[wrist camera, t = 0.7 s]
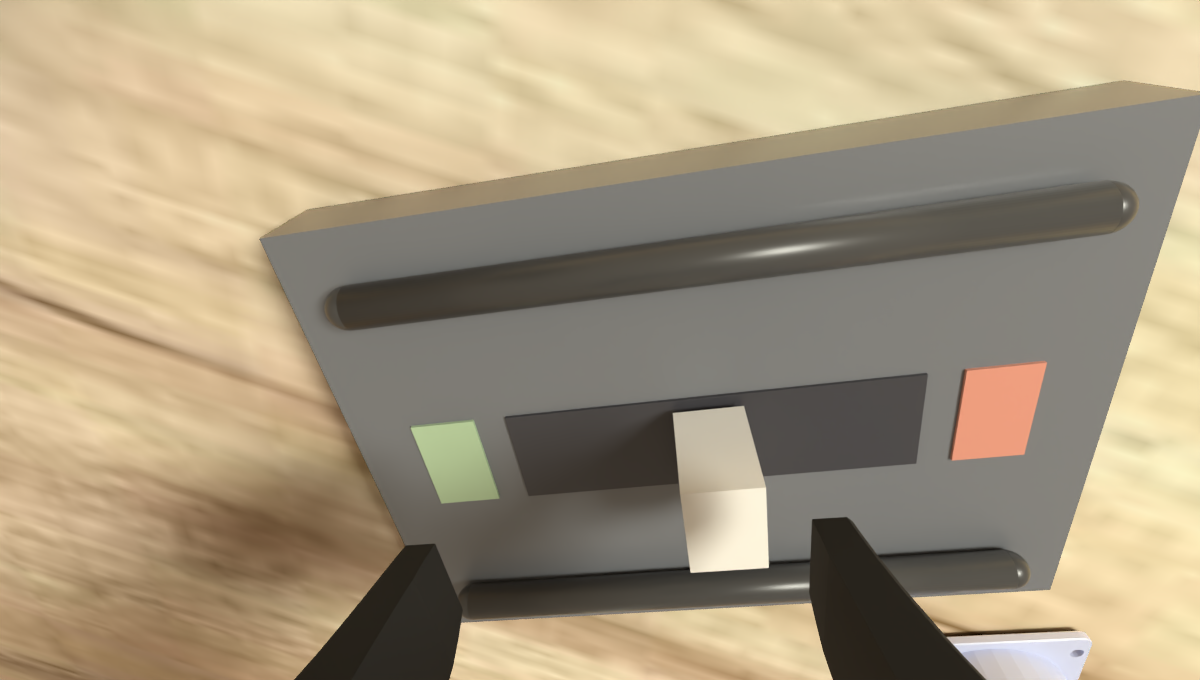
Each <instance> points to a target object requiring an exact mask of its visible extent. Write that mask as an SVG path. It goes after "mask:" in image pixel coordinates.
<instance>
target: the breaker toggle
mask: <svg viewBox="0 0 1200 680" xmlns="http://www.w3.org/2000/svg"><path fill="white" fill-rule="evenodd" d="M673 421H674V432H675V443H676V454H677V465H678V476H679V487H680V497H681V505H682V512H683V520H684V527H685V535H686V542H687V550H688V557H689V564H690V572H691V573H697V572H712V571H728V570H744V569H759V568H769V557H768V528H767V500H766V485H765V482H764V478H763V474H762V471H761V467H760V463H759V460H758V456H757V452H756V449H755V445H754V441H753V438H752V434H751V430H750V426H749V423H748V419H747V415H746V412H745V408H744V406H738V407H728V408H718V409H708V410H698V411H688V412H678V413H673Z"/></svg>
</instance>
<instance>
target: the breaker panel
mask: <svg viewBox="0 0 1200 680" xmlns="http://www.w3.org/2000/svg"><path fill="white" fill-rule="evenodd" d="M1199 129H1200V91H1193V90H1186V89H1179V88H1172V87H1166V86H1159V85H1152V84H1145V83H1138V82H1131V81H1118V82H1111V83H1105V84H1099V85H1092V86H1086V87H1080V88H1073V89H1067V90H1061V91H1054V92H1048V93H1042V94H1035V95H1029V96H1023V97H1016V98H1010V99H1004V100H997V101H991V102H985V103H979V104H972V105H966V106H960V107H953V108H947V109H941V110H934V111H928V112H922V113H915V114H909V115H903V116H896V117H890V118H884V119H877V120H871V121H865V122H858V123H852V124H846V125H839V126H833V127H827V128H821V129H814V130H808V131H802V132H795V133H789V134H783V135H776V136H770V137H764V138H757V139H751V140H745V141H738V142H732V143H726V144H719V145H713V146H707V147H700V148H694V149H688V150H681V151H675V152H669V153H662V154H656V155H650V156H644V157H637V158H631V159H625V160H618V161H612V162H606V163H599V164H593V165H587V166H580V167H574V168H568V169H561V170H555V171H549V172H542V173H536V174H530V175H523V176H517V177H511V178H504V179H498V180H492V181H486V182H479V183H473V184H467V185H460V186H454V187H448V188H441V189H435V190H429V191H422V192H416V193H410V194H403V195H397V196H391V197H384V198H378V199H372V200H365V201H359V202H353V203H346V204H340V205H334V206H327V207H321V208H315V209H309V210H306V211H304V212H302V213H301V214H299V215H298V216H296V217H294V218H293V219H291V220H289V221H288V222H286V223H284V224H283V225H281V226H279V227H278V228H276V229H274V230H273V231H271V232H269V233H268V234H266V235H265V236H263V237H261V238H260V241H261V243H262V246H263V248H264V250H265V252H266V254H267V256H268V258H269V260H270V262H271V264H272V267H273V269H274V271H275V273H276V275H277V277H278V279H279V281H280V283H281V285H282V288H283V290H284V292H285V294H286V296H287V298H288V300H289V302H290V304H291V306H292V309H293V311H294V313H295V315H296V317H297V319H298V321H299V323H300V325H301V328H302V330H303V332H304V334H305V336H306V338H307V340H308V342H309V344H310V346H311V349H312V351H313V353H314V355H315V357H316V359H317V361H318V363H319V365H320V367H321V370H322V372H323V374H324V376H325V378H326V380H327V382H328V384H329V386H330V388H331V391H332V393H333V395H334V397H335V399H336V401H337V403H338V405H339V407H340V410H341V412H342V414H343V416H344V418H345V420H346V422H347V424H348V426H349V428H350V431H351V433H352V435H353V437H354V439H355V441H356V443H357V445H358V447H359V449H360V452H361V454H362V456H363V458H364V460H365V462H366V464H367V466H368V468H369V470H370V473H371V475H372V477H373V479H374V481H375V483H376V485H377V487H378V489H379V492H380V494H381V496H382V498H383V500H384V502H385V504H386V506H387V508H388V510H389V513H390V515H391V517H392V519H393V521H394V523H395V525H396V527H397V529H398V531H399V534H400V536H401V538H402V540H403V542H404V544H405V546H406V545H420V544H436V547H437V549H438V551H439V554H440V556H441V559H442V561H443V563H444V566H445V568H446V571H447V573H448V575H449V578H450V580H451V582H452V585H453V587H454V590H455V592H456V594H457V597H458V599H459V602H460V604H461V606H462V609H463V612H462V619H461V623H462V622H480V621H498V620H516V619H534V618H552V617H570V616H587V615H605V614H623V613H641V612H659V611H677V610H695V609H713V608H731V607H749V606H767V605H785V604H803V603H811V598H810V594H809V582H810V556H811V530H812V519H822V518H838V517H848V518H849V519H850V520H852V521H853V523H854V524H855V525H856V527H857V528H858V530H859V531H860V532H861V534H862V535H863V536H864V538H865V539H866V540H867V542H868V543H869V544H870V546H871V547H872V548H873V550H874V551H875V552H876V554H877V555H878V556H879V558H880V559H881V560H882V561H883V563H884V564H885V565H886V566H887V568H888V569H889V570H890V571H891V573H892V574H893V575H894V576H895V578H896V579H897V580H898V581H899V583H900V584H901V585H902V586H903V587H904V589H905V590H906V591H907V592H908V593H909V595H910V596H911V597H928V596H946V595H964V594H982V593H1000V592H1018V591H1036V590H1050V588H1051V585H1052V582H1053V579H1054V576H1055V573H1056V570H1057V567H1058V564H1059V561H1060V558H1061V554H1062V551H1063V548H1064V545H1065V542H1066V539H1067V536H1068V533H1069V530H1070V527H1071V524H1072V521H1073V517H1074V514H1075V511H1076V508H1077V505H1078V502H1079V499H1080V496H1081V493H1082V490H1083V487H1084V484H1085V480H1086V477H1087V474H1088V471H1089V468H1090V465H1091V462H1092V459H1093V456H1094V453H1095V450H1096V447H1097V443H1098V440H1099V437H1100V434H1101V431H1102V428H1103V425H1104V422H1105V419H1106V416H1107V413H1108V410H1109V406H1110V403H1111V400H1112V397H1113V394H1114V391H1115V388H1116V385H1117V382H1118V379H1119V376H1120V373H1121V370H1122V366H1123V363H1124V360H1125V357H1126V354H1127V351H1128V348H1129V345H1130V342H1131V339H1132V336H1133V333H1134V329H1135V326H1136V323H1137V320H1138V317H1139V314H1140V311H1141V308H1142V305H1143V302H1144V299H1145V296H1146V292H1147V289H1148V286H1149V283H1150V280H1151V277H1152V274H1153V271H1154V268H1155V265H1156V262H1157V259H1158V255H1159V252H1160V249H1161V246H1162V243H1163V240H1164V237H1165V234H1166V231H1167V228H1168V225H1169V222H1170V218H1171V215H1172V212H1173V209H1174V206H1175V203H1176V200H1177V197H1178V194H1179V191H1180V188H1181V185H1182V182H1183V178H1184V175H1185V172H1186V169H1187V166H1188V163H1189V160H1190V157H1191V154H1192V151H1193V148H1194V145H1195V141H1196V138H1197V135H1198V132H1199ZM738 406H744V408H745V412H746V415H747V419H748V423H749V426H750V430H751V434H752V438H753V441H754V445H755V449H756V452H757V456H758V460H759V463H760V467H761V471H762V474H763V478H764V482H765V485H766V500H767V528H768V557H769V568H759V569H744V570H728V571H712V572H697V573H691V572H690V564H689V557H688V550H687V542H686V535H685V527H684V520H683V512H682V505H681V497H680V487H679V476H678V465H677V454H676V443H675V432H674V421H673V413H678V412H688V411H698V410H708V409H718V408H728V407H738Z"/></svg>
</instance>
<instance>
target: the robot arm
mask: <svg viewBox="0 0 1200 680" xmlns="http://www.w3.org/2000/svg"><path fill="white" fill-rule="evenodd" d="M809 594H810V598H811V603H812V607H813V611H814V616H815V620H816V624H817V628H818V632H819V636H820V640H821V644H822V648H823V652H824V655H825V658H826V661H827V664H828V667H829V669H830V672H831V675H832V678H833V680H1078V678H1079V675H1080V673H1081V670H1082V668H1083V665H1084V663H1085V661H1086V658H1087V656H1088V653H1089V651H1090V648H1091V646H1092V641H1091V640H1090V638H1089V637H1088V635H1087V634H1086V633H1084V632H1082V631H1060V632H1039V633H1017V634H996V635H975V636H954V637H946V636H945V635H944V634H943V633H942V632H941V630H940V629H939V628H938V627H937V626H936V625H935V624H934V622H933V621H932V620H931V619H930V618H929V617H928V616H927V614H926V613H925V612H924V611H923V610H922V609H921V608H920V606H919V605H918V604H917V603H916V602H915V601H914V599H913V598H912V597H911V596H910V595H909V593H908V592H907V591H906V590H905V589H904V587H903V586H902V585H901V584H900V583H899V581H898V580H897V579H896V578H895V576H894V575H893V574H892V573H891V571H890V570H889V569H888V568H887V566H886V565H885V564H884V563H883V561H882V560H881V559H880V558H879V556H878V555H877V554H876V552H875V551H874V550H873V548H872V547H871V546H870V544H869V543H868V542H867V540H866V539H865V538H864V536H863V535H862V534H861V532H860V531H859V530H858V528H857V527H856V525H855V524H854V523H853V521H852V520H850V519H849V518H848V517H838V518H822V519H812V530H811V556H810V582H809ZM462 612H463V609H462V606H461V604H460V602H459V599H458V597H457V594H456V592H455V590H454V587H453V585H452V582H451V580H450V578H449V575H448V573H447V571H446V568H445V566H444V563H443V561H442V559H441V556H440V554H439V551H438V549H437V547H436V544H420V545H406V546H405V547H404V549H403V550H402V551H401V552H400V553H399V555H398V556H397V557H396V558H395V559H394V561H393V562H392V563H391V564H390V565H389V567H388V568H387V569H386V570H385V572H384V573H383V574H382V575H381V577H380V578H379V579H378V580H377V582H376V583H375V584H374V585H373V587H372V588H371V589H370V590H369V592H368V593H367V594H366V595H365V597H364V598H363V599H362V600H361V602H360V603H359V604H358V605H357V606H356V608H355V609H354V610H353V611H352V613H351V614H350V615H349V616H348V618H347V619H346V620H345V621H344V622H343V624H342V625H341V626H340V627H339V628H338V630H337V631H336V632H335V633H334V634H333V636H332V637H331V638H330V639H329V640H328V642H327V643H326V644H325V645H324V646H323V648H322V649H321V650H320V651H319V652H318V653H317V655H316V656H315V657H314V658H313V659H312V660H311V661H310V663H309V664H308V665H307V666H306V667H305V668H304V669H303V670H302V672H301V673H300V674H299V675H298V676H297V677H296V678H295V679H294V680H449V678H450V675H451V671H452V668H453V664H454V658H455V653H456V648H457V643H458V637H459V631H460V625H461V619H462Z"/></svg>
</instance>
